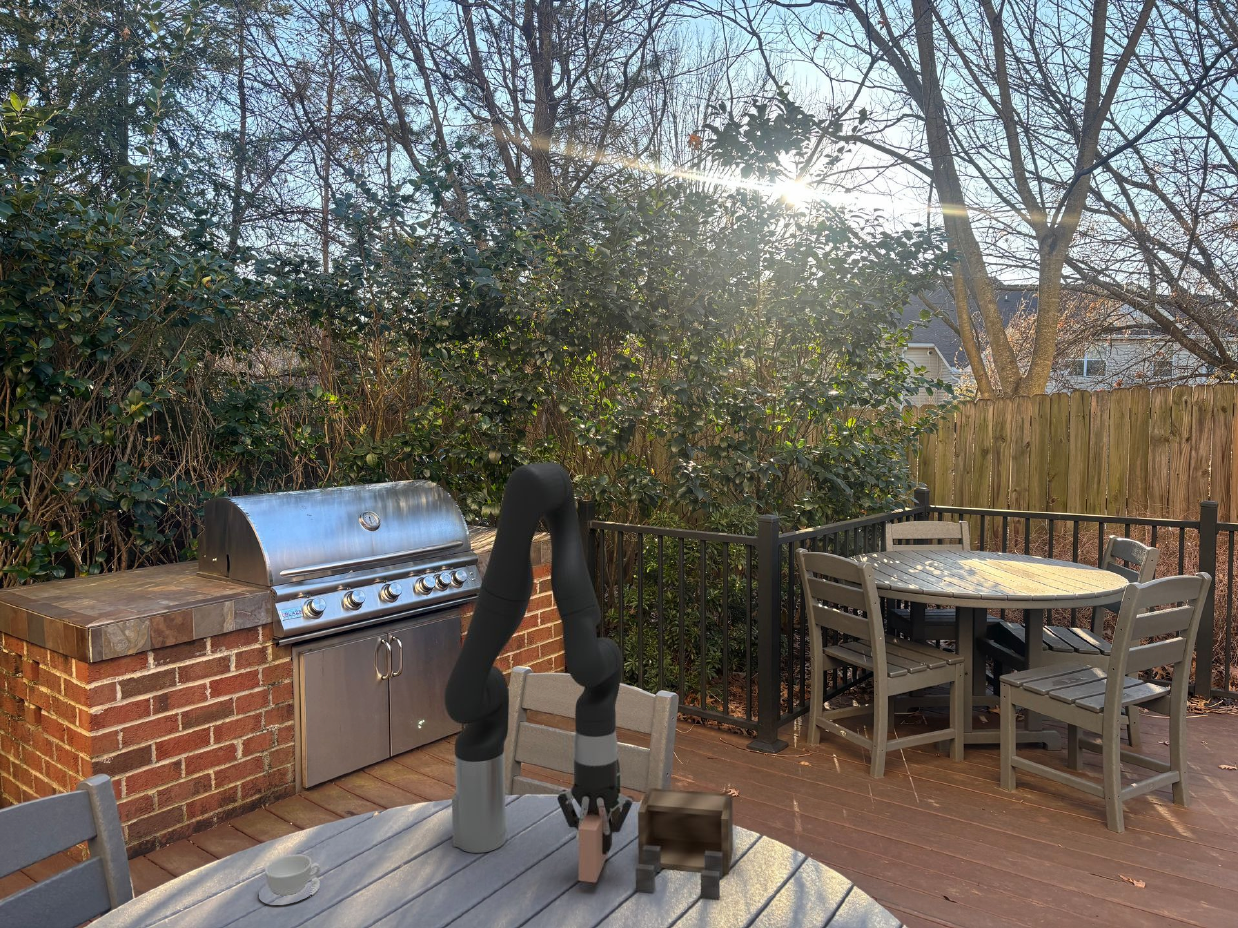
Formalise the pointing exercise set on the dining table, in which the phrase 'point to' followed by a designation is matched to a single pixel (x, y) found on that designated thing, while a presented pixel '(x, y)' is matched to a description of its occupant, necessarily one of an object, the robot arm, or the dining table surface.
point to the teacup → (291, 874)
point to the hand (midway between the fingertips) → (595, 850)
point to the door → (590, 848)
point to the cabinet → (685, 837)
